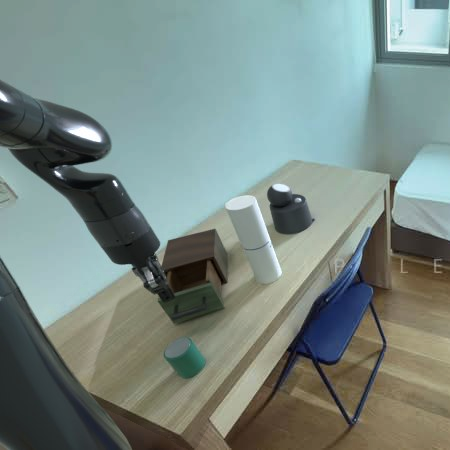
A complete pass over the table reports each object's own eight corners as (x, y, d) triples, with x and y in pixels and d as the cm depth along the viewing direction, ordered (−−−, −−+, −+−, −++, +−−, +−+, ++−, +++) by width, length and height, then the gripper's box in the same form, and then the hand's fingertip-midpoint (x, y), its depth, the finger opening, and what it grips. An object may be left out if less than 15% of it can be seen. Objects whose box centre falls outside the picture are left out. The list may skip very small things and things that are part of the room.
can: (198, 377, 65) (183, 358, 61) (173, 379, 65) (157, 359, 61) (209, 355, 70) (196, 335, 66) (186, 356, 70) (172, 337, 66)
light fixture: (305, 190, 100) (259, 196, 97) (315, 230, 109) (273, 237, 106) (305, 173, 110) (264, 178, 108) (314, 210, 119) (276, 216, 117)
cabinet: (227, 282, 89) (214, 256, 83) (177, 297, 85) (159, 270, 79) (227, 253, 100) (215, 228, 94) (183, 265, 96) (167, 240, 90)
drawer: (223, 319, 77) (210, 297, 72) (171, 337, 73) (154, 314, 68) (224, 275, 90) (213, 253, 85) (179, 288, 86) (165, 266, 82)
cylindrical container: (250, 281, 89) (218, 207, 74) (266, 265, 94) (238, 193, 80) (271, 286, 87) (242, 211, 73) (286, 269, 92) (261, 196, 78)
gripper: (95, 225, 57) (143, 291, 67) (98, 259, 48) (153, 328, 58) (143, 210, 61) (182, 274, 70) (154, 239, 52) (196, 307, 62)
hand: (169, 298), depth 64 cm, fingers closed
